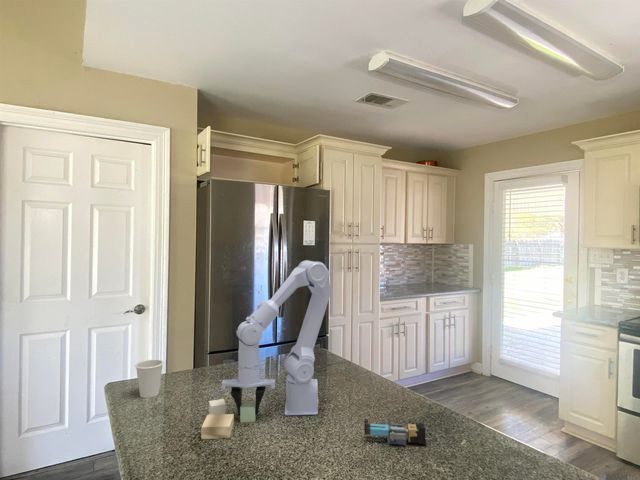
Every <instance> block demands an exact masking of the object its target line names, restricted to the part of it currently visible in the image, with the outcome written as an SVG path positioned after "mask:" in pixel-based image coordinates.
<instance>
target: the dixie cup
mask: <svg viewBox="0 0 640 480" xmlns="http://www.w3.org/2000/svg"><path fill="white" fill-rule="evenodd" d="M163 367H164V360H161V359H146V360H142V361H139V362H137V363H136V364H135V369H136V377H137V384H138V391H139V396H140V398H142V399H144V398H145V399H149V398H153V397H156V396H158V395H159V394H160V390H161V389H160V388H161V383H162V381H161V380H162V374H163V372H162V371H163Z"/></svg>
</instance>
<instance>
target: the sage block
mask: <svg viewBox="0 0 640 480" xmlns="http://www.w3.org/2000/svg"><path fill="white" fill-rule="evenodd" d="M255 408H256V400H254V401H253V400H252V401H251V400H250V401H242V404H241V407H240V415H239V418H240V419H239V420H240V423H255V422H256V418H257V415H255Z"/></svg>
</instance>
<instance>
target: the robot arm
mask: <svg viewBox="0 0 640 480" xmlns="http://www.w3.org/2000/svg"><path fill="white" fill-rule="evenodd" d="M330 274H331V272H330V271H329V269H328V268H327V266H326V264H324V263H323V262H321V261H313V260H309V259H306V260H303V261H301V262H300V263H299V264H298V266H296V267H295V268H293V270H292V271H291V272H290V275H289V276H288V277H287V278H286V280H285V281H284V282H283V283H282V284H281V286H280V287H279V288H278V289H277V290H276V292H275V293H274V294H273V295H272V297H271V298H270V299H267V300H266V299H265V300H263V301H262V302H258V303H257V304H256V306H257V308H256V309H254V311H253V312H252V313H251V314H250V316H247V317H246V318H245V321H243V322H241V323H240V324H239V325H238V327H237V330H236V336H237V338H238V352H237V353H238V367H237V368H238V370H237V371H238V372H237V373H238V374H237V375H238V377H237V378H232V379H223V380H222V382H221V390H226V389H231V391H230V395H231V397H232V399H233V401H234V403H235V406H236V409H237V413H238V415H237V416H240V407H241V404H242V402H243V400H242V398H243V389H255V401H256V408H255V415H256V416H258V415H259V410H260V405H261V402H262V399H263V397H264V395H265V392H266V388H268V389H269V388H270V389H275V387H276V379H274V378H263V377H260V341H261V340H262V338H263V332H264V331H265V330H266V329H267V328H268V327H269V326H270V325H271V323H273V321H274V320H275V319H276V317H277V316H278V315H279V314H280V306H282V305H283V304H284V302H286V300H288V298H290V296H291V295H293V294H294V292H295V291H296V290H297V289H298V288H302V287H305V286H307V287H308V289H309V291H310V293H311V297H310V299H309V303H308V306H307V309H306V313H305V315H304V318H303V321H302V326H301V328H300V331H299V335H298V337H297V340H296V344H295V345H293V346H292V347H291V349H290V352H289V354H288V355H287V356H286V357H285V358H284V362H283V367H284V370H285V371H286V372H287V375H286V377H285V379H286V381H285V382H286V383H285V384H286V385H285V386H286V388H285V389H286V391H285V392H286V395H285V396H286V397H285V398H286V400H285V402H284V416H317V415H318V414H319V413H318V410H319V407H318V406H319V387H318V379H317V378H313V377H314V373H315V368H314V366H315V365H314V363H315V360H316V358H315V357H316V356H315V353H314V349H315V345H316V343H317V339H318V335H319V333H320V329H321V326H322V323H323V320H324V317H325V313H326V310H327V306H328V303H329V302H330V301H329V300H330V297H331V294H332V291H331V283H330Z"/></svg>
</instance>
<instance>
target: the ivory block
mask: <svg viewBox="0 0 640 480" xmlns="http://www.w3.org/2000/svg"><path fill="white" fill-rule="evenodd" d="M226 410H227V403H226V402H225V399H224V398H220V399H214V400H209V401H208V415H211V414H227V411H226Z"/></svg>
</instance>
